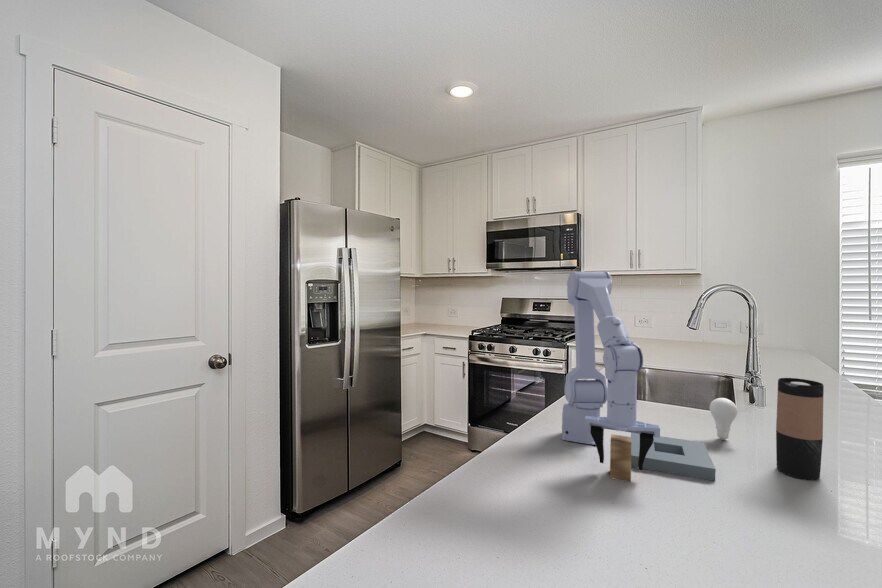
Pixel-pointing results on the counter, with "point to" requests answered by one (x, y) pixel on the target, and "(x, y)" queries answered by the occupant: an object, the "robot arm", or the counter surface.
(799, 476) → the travel mug
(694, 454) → the socket block
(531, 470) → the counter surface
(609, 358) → the robot arm
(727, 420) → the lightbulb
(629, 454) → the peg
